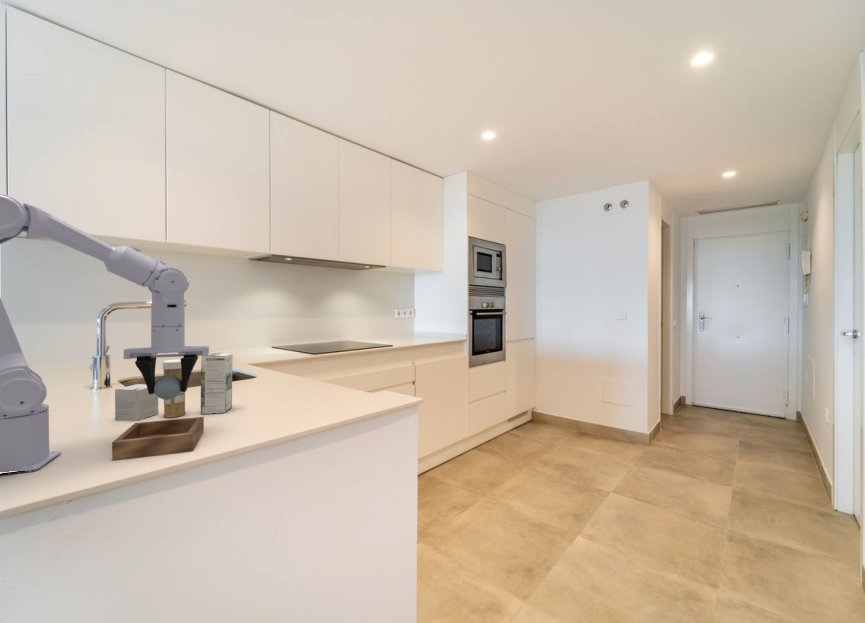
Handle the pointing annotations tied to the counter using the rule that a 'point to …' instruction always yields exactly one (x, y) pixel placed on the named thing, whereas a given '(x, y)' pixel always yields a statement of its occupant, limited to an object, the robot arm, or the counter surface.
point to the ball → (167, 387)
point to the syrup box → (216, 383)
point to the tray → (158, 438)
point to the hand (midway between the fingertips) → (168, 392)
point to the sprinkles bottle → (177, 404)
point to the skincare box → (135, 403)
